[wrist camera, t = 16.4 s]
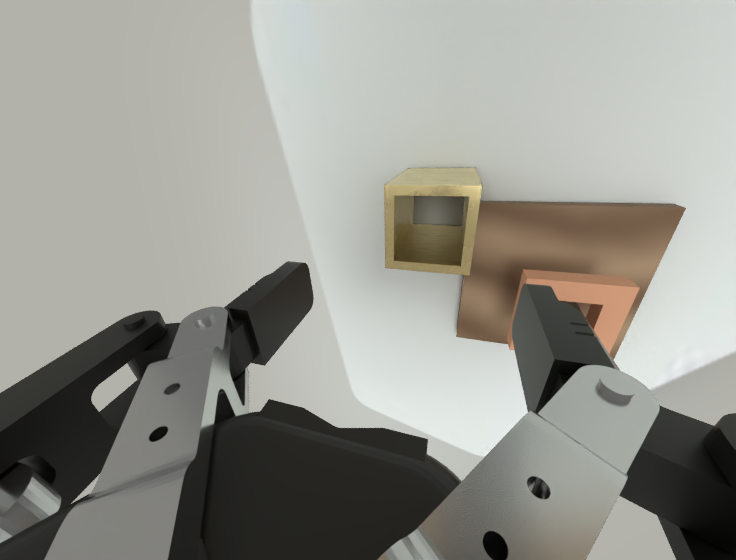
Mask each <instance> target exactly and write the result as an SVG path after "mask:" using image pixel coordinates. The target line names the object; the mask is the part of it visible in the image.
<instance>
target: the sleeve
mask: <svg viewBox="0 0 736 560" xmlns="http://www.w3.org/2000/svg"><path fill="white" fill-rule="evenodd" d="M384 190H385V268H391V269H402V270H413V271H425V272H436V273H447V274H458V275H470V268H471V261H472V254H473V247H474V240H475V233H476V226H477V219H478V212H479V205H480V198H481V191H482V183H481V181H480V178H479V175H478V172H477V169H476V167H474V168H408V169H407V170H405V171H404V172H402V173H401V174H399V175H398V176H397V177H395V178H394V179H392V180H391V181H389V182H388V183H387V184H385V185H384ZM414 196H465V199H464V208H463V217H462V225H461V226H450V225H427V224H413V220H414Z"/></svg>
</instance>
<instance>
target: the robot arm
mask: <svg viewBox="0 0 736 560" xmlns="http://www.w3.org/2000/svg"><path fill="white" fill-rule="evenodd" d="M312 305H313V291H312V285H311V279H310V273H309V268H308V265H307V264H306V263H300V262H286V263H285V264H284V265H282V266H281V267H280V268H278V269H277V270H276V271H274V272H273V273H271V274H269V275H267V276H265V277H263V278H262V279H260V280H259V281H258V282H256V283H255V285H253V286H251V287H250V288H249V289H248V291H245V292H244V293H242V294H241V295H240V296H239V297H237V298H236V299H235V300H233V301H232V302H231V303H229V304H228V305H227V306H226V307H224V308H223V307H208V308H204V309H201V310H198V311H196V312H193V313H191V314H190V315H188V316H187V317H186V318H184V319H183V320H182V322H181V323H171V324H165V322H164V320H163V318H162V316H161V314H160V313H159V312H157V311H143V312H139V313H135V314H133V315H130V316H127V317H125V318H123V319H121V320H119V321H118V322H116V323H115V324H113V325H111V326H109V327H108V328H106V329H105V330H103V331H101V332H100V333H98V334H96V335H95V336H93V337H91V338H90V339H88V340H87V341H85V342H83V343H82V344H80V345H78V346H77V347H75V348H73V349H72V350H70V351H69V352H67V353H65V354H64V355H62V356H61V357H59V358H57V359H56V360H54V361H52V362H51V363H49V364H47V365H46V366H44V367H42V368H41V369H39V370H37V371H36V372H34V373H33V374H31V375H29V376H28V377H26V378H24V379H23V380H21V381H19V382H18V383H16V384H15V385H13V386H11V387H10V388H8V389H6V390H5V391H3V392H1V393H0V560H586V558H587V556H588V554H589V553H590V551H591V548H592V547H593V545H594V543H595V541H596V539H597V537H598V535H599V533H600V531H601V529H602V528H603V526H604V524H605V522H606V520H607V518H608V516H609V514H610V512H611V510H612V508H613V506H614V504H615V503H616V500H617V499H618V497H619V496H622V497H623V498H625V499H627V500H629V501H631V502H633V503H635V504H637V505H638V506H640V507H642V508H644V509H646V510H648V511H650V512H652V513H654V514H656V515H657V516H658V518H659V520H660V523H661V525H662V527H663V530H664V532H665V534H666V537H667V539H668V541H669V544H670V546H671V548H672V551H673V553H674V555H675V557H676V560H736V414H735V413H734V414H728V415H725V416H723V417H722V418H721V419H720V420H719V421H718V422H717V424H716V425H715V426H713V425H710V424H707V423H704V422H702V421H699V420H696V419H693V418H691V417H688V416H685V415H682V414H679V413H677V412H674V411H671V410H669V409H666V408H664V407H662V406H660V405H659V403H658V400H657V398H656V397H655V395H654V394H653V393H652V392H651V391H650V390H649V389H648V388H647V387H646V386H645V385H644V384H642V383H641V382H640V381H638V380H637V379H635V378H633V377H632V376H630V375H628V374H626V373H624V372H621V371H619V370H616V369H615V367H614V365H613V364H612V362H611V361H610V359H609V357H608V356H607V354H606V352H605V351H604V349H603V347H602V346H601V344H600V342H599V341H598V339H597V338H596V337H595V336H594V333H593V331H592V329H591V328H590V327H588V325H589V324H588V323H587V321H586V319H585V318H584V316H583V314H582V313H581V312H580V311H578V310H577V309H576V308H574V307H573V306H572V305H570V304H569V303H566V302H559V300H558V299H557V297H556V295H555V293H554V291H553V289H552V287H551V286H547V285H536V284H523V286H522V289H521V292H520V296H519V300H518V304H517V308H516V312H515V316H514V320H513V326H512V340H513V345H514V349H515V354H516V358H517V363H518V368H519V372H520V377H521V381H522V386H523V391H524V395H525V400H526V404H527V409H528V413H527V414H526V415H525V416H524V417H523V418H522V419H521V420H520V421H519V422H518V423H517V424H516V425H515V426H514V427H513V428H512V429H511V430H510V431H509V432H508V433H507V434H506V435H505V437H504V438H503V439H502V440H501V441H500V442H499V443H498V444H497V445H496V446H495V447H494V448H493V449H492V450H491V451H490V452H489V453H488V454H487V455H486V456H485V458H484V459H483V460H482V461H481V462H480V463H479V464H478V465H477V466H476V467H475V468H474V469H473V470H472V471H471V472H470V473H469V474H468V475H467V476H466V478H465V479H464V480H463V481H461V480H460V479H459V478H458V477H457V476H456V475H455V474H454V473H453V472H452V471H450V470H449V469H448V468H447V467H446V466H444V465H443V464H442V463H440V462H439V461H437V460H436V459H434V458H433V457H431V456H429V455H427V443H428V440H427V439H425V438H421V437H417V436H413V435H409V434H405V433H401V432H397V431H393V430H389V429H385V428H337V427H335V426H333V425H331V424H330V423H328V422H326V421H325V420H323V419H321V418H319V417H318V416H316V415H314V414H313V413H311V412H309V411H308V410H306V409H304V408H302V407H298V406H294V405H290V404H285V403H282V402H278V401H274V400H270V399H269V400H268V402H267V403H266V404H265V406H264V407H263V409H262V410H261V411H260V412H252V413H249V371H248V368H247V366H248V365H249V364H250V363H255V364H260V365H266V363H267V362H268V361H269V360H270V358H271V357H272V356H273V355H274V354H275V352H276V351H277V350H278V349H279V347H280V346H281V345H282V344H283V343H284V341H285V340H286V339H287V338H288V336H289V335H290V334H291V333H292V332H293V330H294V329H295V328H296V327H297V325H298V324H299V323H300V322H301V321H302V319H303V318H304V317H305V315H306V314H307V313H308V312H309V311H310V309H311V307H312ZM126 363H128V365H129V367H130V368H131V370H132V371H133V373H134V375H135V376H136V377H137V379H138V380H137V381H136V382H134V383H133V384H132V385H131V386H130V387H128V388H127V389H126V390H125V391H124V392H123V393H121V394H120V395H119V396H118V397H117V398H115V399H114V400H113V401H112V402H111V403H109V404H108V405H107V406H106V407H105V408H104V409H102V410H101V411H100V412H98V410H97V409H96V408H95V406H94V405H93V404H92V402H91V396H92V393H93V391H94V389H95V388H96V387H97V386H98V385H99V384H100V383H101V382H103V381H104V380H105V379H107V378H108V377H109V376H111V375H112V374H113V373H115V372H116V371H117V370H118V369H120V368H121V367H122V366H124V365H125V364H126ZM99 474H100V476H99V478H98V481H97V483H96V485H95V487H94V489H93V490H92V492H91V493H90V494H88V495H87V496H85V497H83V498H81V499H80V500H78V501H76V502H74V503H72V502H73V500H75V499H76V498H77V497H78V495H80V493H82V491H83V490H84V489H85V488H86V487H87V486H88V485H89V484H90V483H91V482H92V481H93V480H94V479H95V478H96V477H97V476H98V475H99ZM71 503H72V504H71Z"/></svg>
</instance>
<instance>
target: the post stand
mask: <svg viewBox="0 0 736 560" xmlns="http://www.w3.org/2000/svg"><path fill="white" fill-rule="evenodd" d="M685 209H686V208H684V207H682V206H679V205H676V204H634V203H574V202H514V201H480V205H479V212H478V219H477V226H476V233H475V240H474V247H473V254H472V261H471V268H470V275H464V276H463V284H462V292H461V300H460V308H459V315H458V323H457V335H456V337H461V338H468V339H475V340H482V341H489V342H496V343H503V344H508V340H507V336H508V332H509V328H510V323H511V319H512V315H513V311H514V306H515V302H516V298H517V293H518V289H519V285H520V281H521V276H522V272H523V269H527V270H541V271H554V272H567V273H580V274H593V275H606V276H619V277H628V278H630V279H631V280H632V281H633V282H634V283H635V284H636V285H637V286H639V287H640V289H639V291H638V293H637V295H636V297H635V300H634V302H633V304H632V306H631V308H630V310H629V313H628V315H627V317H626V319H625V321H624V323H623V326H622V328H621V330H620V332H619V334H618V336H617V339H616V341H615V343H614V345H613V347H612V349H611V352H610V354H609V353H608V351H607V350H606V348H605V347H604V345H603V344H602V342H601V341H600V339H599V338H598V336H597V335H596V333H595V332H594V330H593V329H592V327H591V325H590V324H589V322H588V321H587V319H586V315H587V313H588V310H589V307H590V305H591V304H589V303H579V302H569V301H559V302H566V303H569V304H570V305H572V306H573V307H574V308H576V309H577V310H578V311H580V312H581V313H582V314H583V316H584V318H585V319H586V321H587V323H588V324H589V325H588V327H590V328H591V329H592V331H593V333H594V336H595V337H596V338H597V339H598V341H599V342H600V344H601V346H602V347H603V349H604V351H605V352H606V354H607V356H608V357H609V359H610V361H611V362H612V364H613V365H614V367H615V369H616V370H619V368H618V367H617V365H616V364H615V362H614V361H613V359H614V358H615V355H616V353H617V351H618V349H619V347H620V345H621V343H622V341H623V339H624V337H625V335H626V332H627V330H628V328H629V326H630V324H631V322H632V320H633V318H634V316H635V314H636V311H637V309H638V307H639V305H640V303H641V301H642V299H643V297H644V295H645V293H646V290H647V288H648V286H649V284H650V282H651V280H652V278H653V276H654V274H655V272H656V270H657V267H658V265H659V263H660V261H661V259H662V257H663V255H664V253H665V251H666V249H667V246H668V244H669V242H670V240H671V238H672V236H673V234H674V232H675V230H676V228H677V225H678V223H679V221H680V219H681V217H682V215H683V213H684V211H685ZM619 371H620V370H619Z"/></svg>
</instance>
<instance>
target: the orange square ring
mask: <svg viewBox="0 0 736 560" xmlns="http://www.w3.org/2000/svg"><path fill="white" fill-rule="evenodd" d="M523 284H536V285H547V286H551V287H552V289H553V291H554V293H555V295H556V297H557V299H558V300H559V301H569V302H579V303H589V304H591V305H590V307H589V310H588V313H587V315H586V319H587V321H588V322H589V324H590V325H591V327H592V329H593V330H594V332H595V333H596V335H597V336H598V338H599V339H600V341H601V342H602V344H603V345H604V347H605V348H606V350H607V351H608V353H609V354H610V352H611V349H612V347H613V345H614V343H615V341H616V339H617V336H618V334H619V332H620V330H621V328H622V326H623V323H624V321H625V319H626V317H627V315H628V313H629V310H630V308H631V306H632V304H633V302H634V300H635V297H636V295H637V293H638V291H639V289H640V287H639V286H637V285H636V284H635V283H634V282H633V281H632V280H631V279H630V278H628V277H619V276H606V275H593V274H580V273H567V272H554V271H541V270H527V269H523V272H522V276H521V281H520V285H519V289H518V293H517V298H516V302H515V306H514V311H513V315H512V319H511V323H510V328H509V332H508V336H507V340H508V344H509V349H510V350H515V349H514V345H513V340H512V326H513V320H514V316H515V312H516V308H517V304H518V300H519V296H520V292H521V289H522V286H523Z"/></svg>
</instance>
